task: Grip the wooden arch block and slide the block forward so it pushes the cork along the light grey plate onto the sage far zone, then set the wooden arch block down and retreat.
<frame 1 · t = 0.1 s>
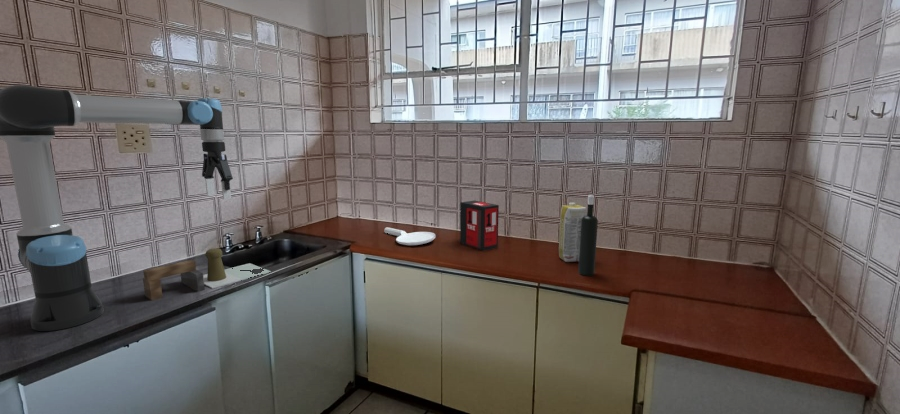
hand: (218, 196, 157), 28 cm above the worktop, fingers open, 13 cm apart
wooden arch block: (192, 286, 141), on the worktop
frying pan: (406, 240, 204), on the worktop
cork: (217, 278, 147), resting on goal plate
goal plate: (246, 271, 156), on the worktop
juice carton: (570, 260, 171), on the worktop
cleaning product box: (478, 245, 193), on the worktop
wine bottle: (586, 273, 154), on the worktop
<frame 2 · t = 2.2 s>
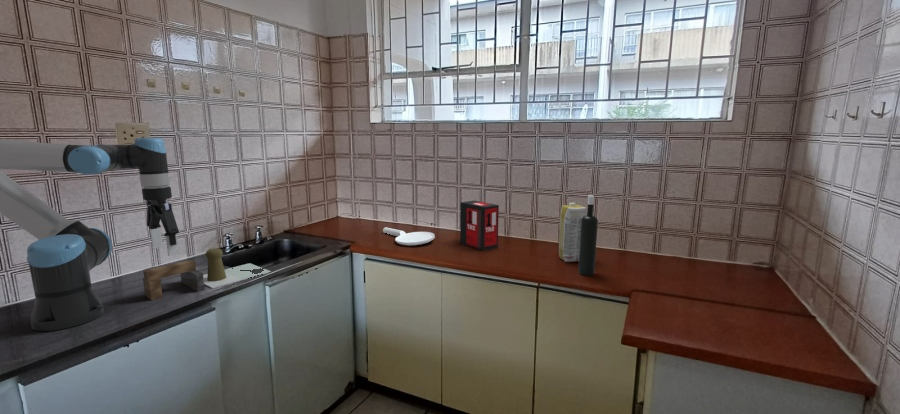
hand: (165, 251, 133), 14 cm above the worktop, fingers open, 13 cm apart
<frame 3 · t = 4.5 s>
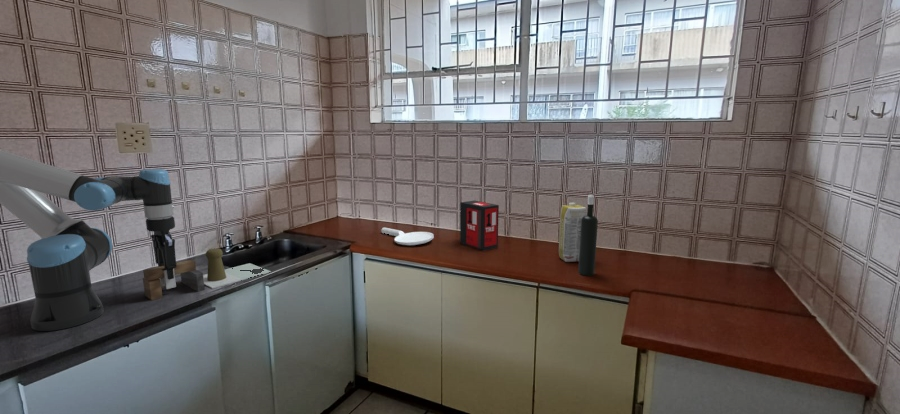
hand: (168, 286, 135), 2 cm above the worktop, fingers closed on wooden arch block, 3 cm apart
wooden arch block: (192, 286, 141), on the worktop, touching gripper
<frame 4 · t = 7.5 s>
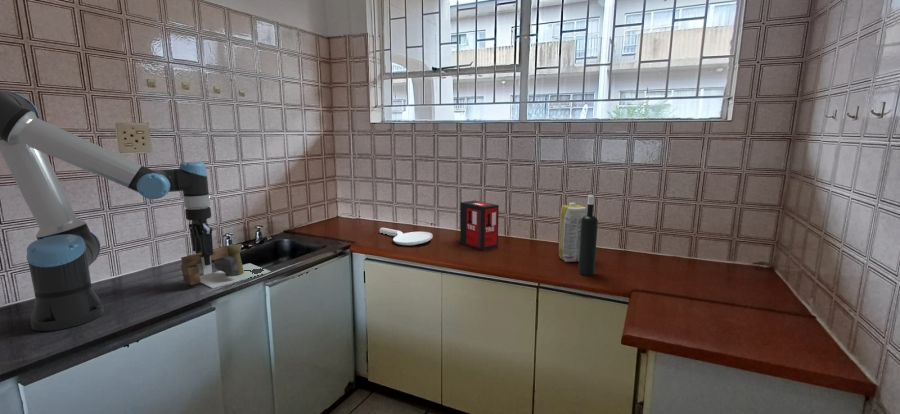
hand: (205, 272, 144), 4 cm above the worktop, fingers closed on wooden arch block, 3 cm apart
wooden arch block: (226, 271, 150), point 2 cm above the worktop, touching gripper, cork
cork: (234, 273, 152), resting on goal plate, touching wooden arch block
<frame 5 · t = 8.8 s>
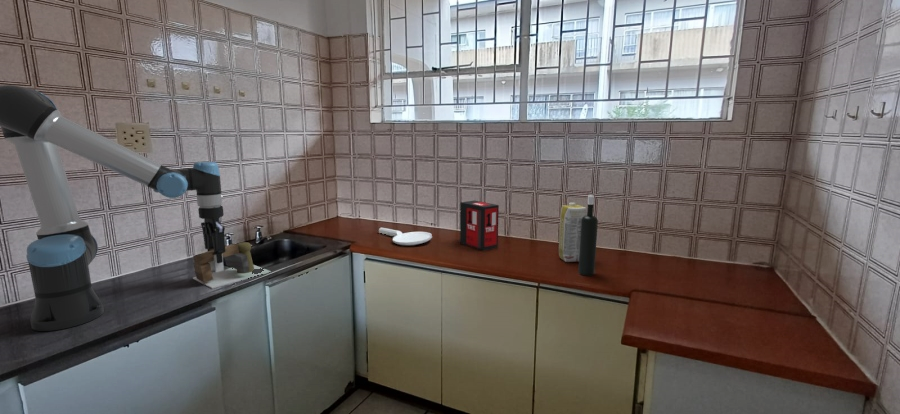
hand: (217, 269, 147), 4 cm above the worktop, fingers closed on wooden arch block, 3 cm apart
wooden arch block: (237, 267, 153), point 2 cm above the worktop, tilted 5°, touching gripper, cork
cork: (245, 271, 156), resting on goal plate, touching wooden arch block
when the fingers open (4 cm above the worktop, at t = 12.4 s): wooden arch block drops 3 cm, on the worktop.
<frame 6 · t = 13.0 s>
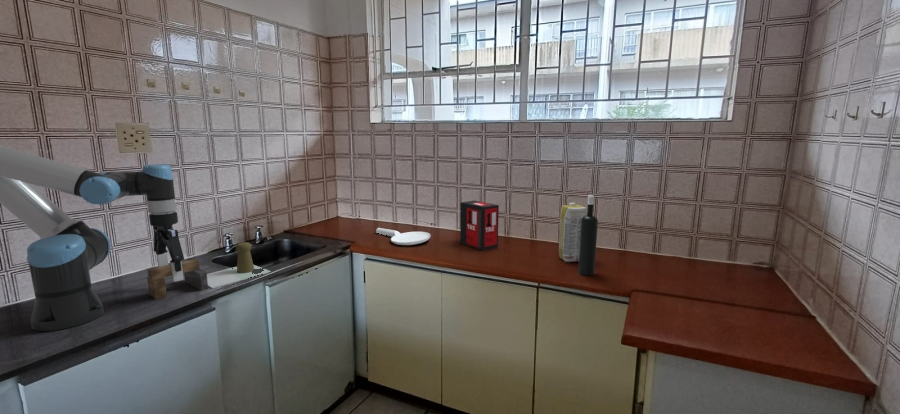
hand: (171, 276, 136), 5 cm above the worktop, fingers open, 11 cm apart
wooden arch block: (196, 285, 142), on the worktop
cork: (245, 271, 156), resting on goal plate
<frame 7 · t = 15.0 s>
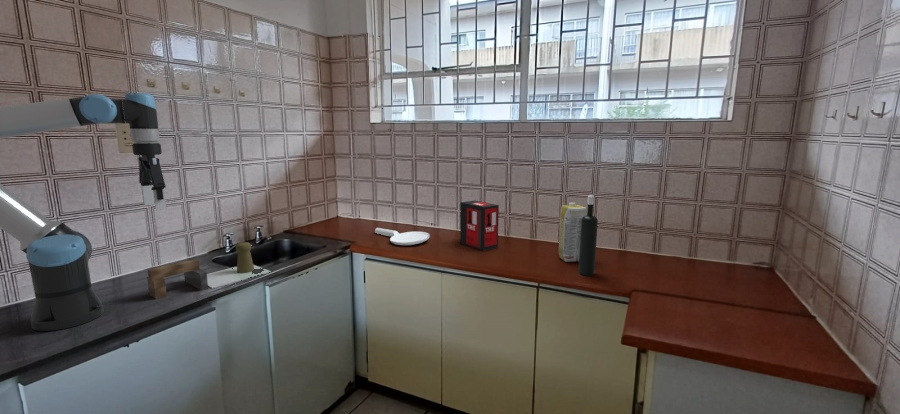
hand: (155, 207, 136), 28 cm above the worktop, fingers open, 13 cm apart
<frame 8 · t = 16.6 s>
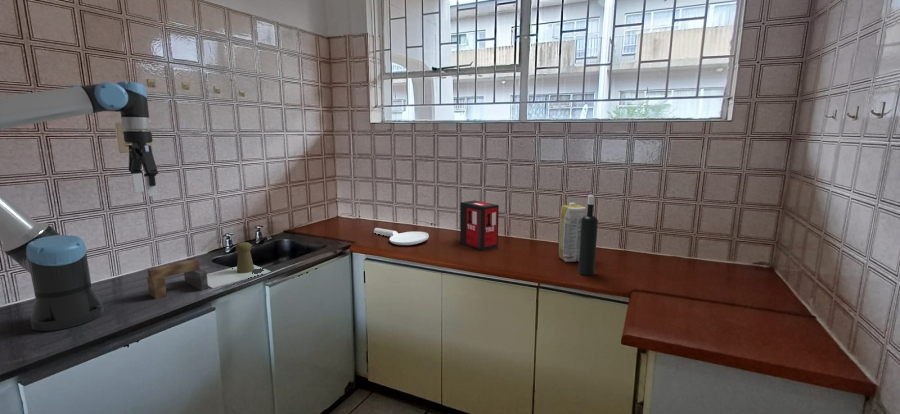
hand: (145, 194, 139), 32 cm above the worktop, fingers open, 13 cm apart
at the end: cork inside the target area on the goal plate (0.2 cm from its centre), point 0.2 cm above the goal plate's base; cork tilted 0°; the gripper is holding nothing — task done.
